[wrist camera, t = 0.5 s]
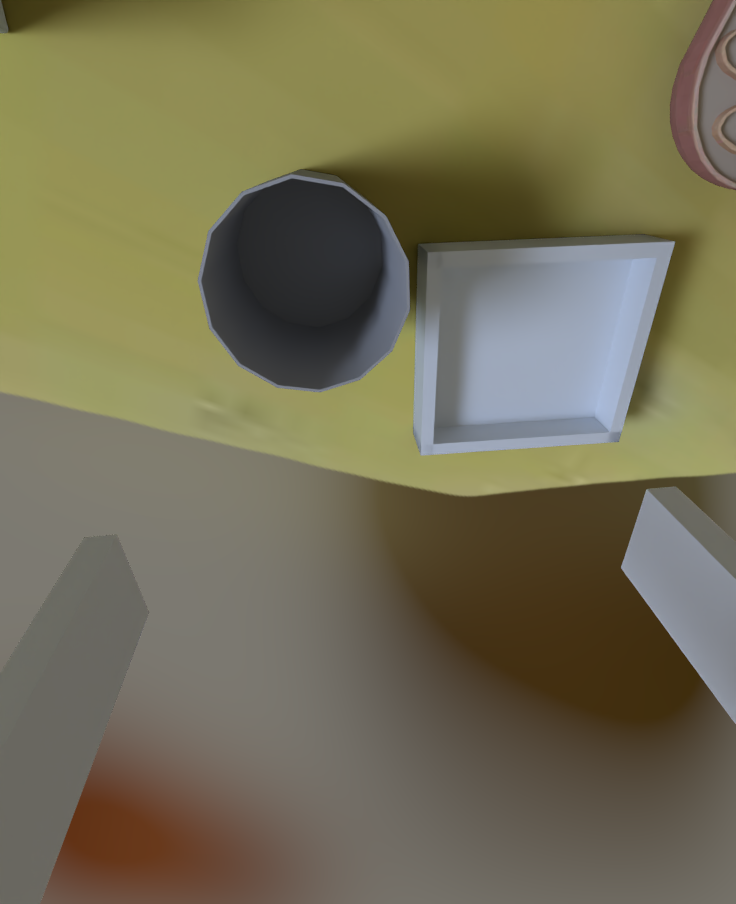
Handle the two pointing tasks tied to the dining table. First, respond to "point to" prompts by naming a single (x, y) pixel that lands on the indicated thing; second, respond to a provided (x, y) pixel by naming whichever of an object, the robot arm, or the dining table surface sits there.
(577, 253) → the grey tray
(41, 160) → the dining table surface
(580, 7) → the dining table surface
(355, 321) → the cup
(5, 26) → the small box
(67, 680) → the robot arm
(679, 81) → the mitochondrion model
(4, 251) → the dining table surface
